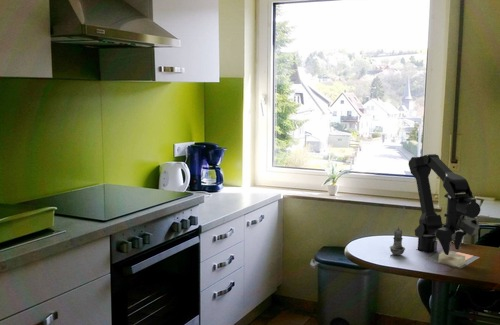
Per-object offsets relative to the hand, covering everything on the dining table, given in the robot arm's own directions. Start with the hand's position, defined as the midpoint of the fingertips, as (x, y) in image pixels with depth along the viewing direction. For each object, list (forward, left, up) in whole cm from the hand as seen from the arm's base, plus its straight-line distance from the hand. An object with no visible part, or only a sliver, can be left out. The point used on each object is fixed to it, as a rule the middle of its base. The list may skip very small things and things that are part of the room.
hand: (452, 252), depth 196 cm
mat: (-2, +5, -5) cm, 7 cm away
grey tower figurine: (-19, -7, -5) cm, 21 cm away
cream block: (0, 0, -4) cm, 4 cm away
